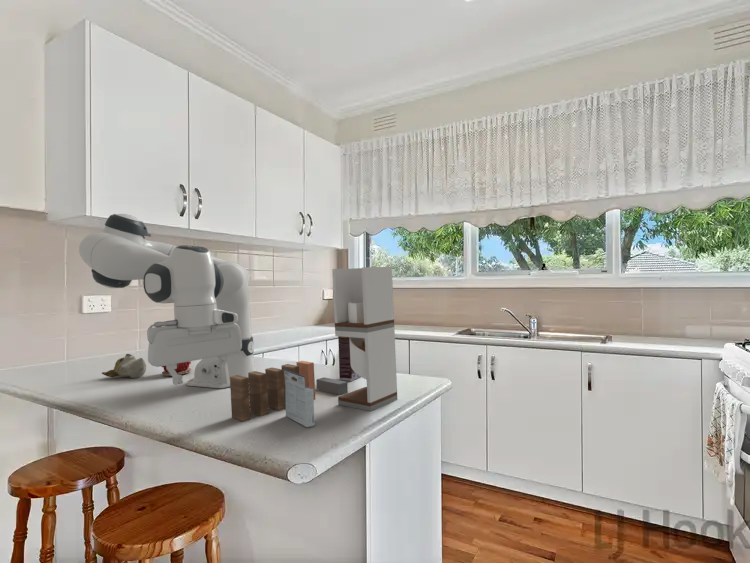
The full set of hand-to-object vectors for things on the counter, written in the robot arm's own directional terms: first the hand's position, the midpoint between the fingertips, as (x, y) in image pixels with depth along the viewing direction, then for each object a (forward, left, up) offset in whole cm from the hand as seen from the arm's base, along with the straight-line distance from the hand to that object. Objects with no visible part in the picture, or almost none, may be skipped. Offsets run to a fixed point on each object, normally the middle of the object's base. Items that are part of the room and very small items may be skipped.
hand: (199, 379), depth 99 cm
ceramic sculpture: (-62, +48, -12) cm, 79 cm away
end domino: (+15, +26, -12) cm, 32 cm away
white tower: (+33, +24, -12) cm, 42 cm away
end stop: (+20, +34, -11) cm, 41 cm away
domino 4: (+13, +21, -11) cm, 27 cm away
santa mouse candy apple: (-45, +52, -12) cm, 70 cm away
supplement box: (+22, +49, -12) cm, 55 cm away
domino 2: (+8, +13, -11) cm, 19 cm away
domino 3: (+10, +17, -12) cm, 23 cm away
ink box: (+20, +8, -12) cm, 25 cm away
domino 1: (+5, +8, -11) cm, 15 cm away
